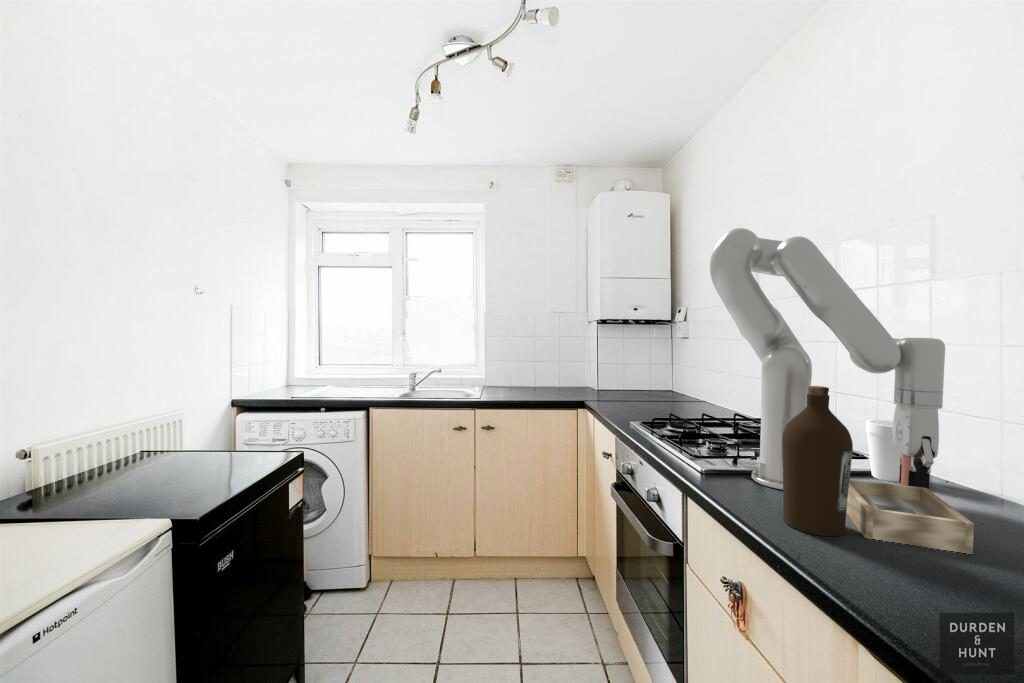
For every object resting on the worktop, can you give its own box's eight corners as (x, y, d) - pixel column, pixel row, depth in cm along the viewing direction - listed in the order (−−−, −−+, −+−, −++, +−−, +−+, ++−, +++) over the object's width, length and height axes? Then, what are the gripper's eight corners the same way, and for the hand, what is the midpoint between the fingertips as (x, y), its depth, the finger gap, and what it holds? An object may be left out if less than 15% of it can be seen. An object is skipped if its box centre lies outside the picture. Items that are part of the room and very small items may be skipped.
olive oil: (775, 527, 84) (780, 387, 83) (782, 509, 93) (787, 381, 92) (849, 544, 78) (855, 393, 77) (849, 523, 87) (855, 386, 86)
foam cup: (910, 476, 115) (913, 422, 114) (917, 487, 107) (920, 429, 106) (862, 469, 120) (864, 418, 119) (865, 479, 112) (867, 424, 111)
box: (865, 538, 80) (866, 509, 80) (838, 502, 97) (839, 477, 97) (972, 555, 75) (974, 523, 75) (925, 513, 92) (926, 487, 91)
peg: (904, 504, 96) (907, 445, 96) (897, 498, 100) (899, 441, 99) (929, 507, 94) (932, 448, 94) (921, 501, 98) (923, 443, 98)
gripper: (881, 392, 105) (877, 473, 106) (910, 403, 90) (906, 498, 91) (923, 394, 102) (919, 478, 103) (961, 406, 87) (956, 505, 88)
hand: (913, 486), depth 97 cm, fingers closed on peg, 4 cm apart
